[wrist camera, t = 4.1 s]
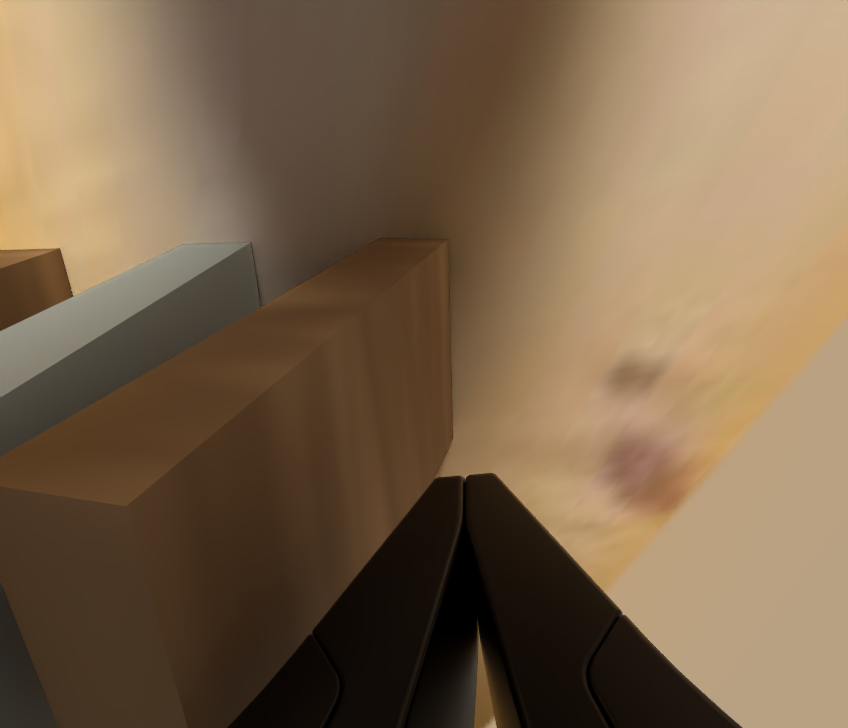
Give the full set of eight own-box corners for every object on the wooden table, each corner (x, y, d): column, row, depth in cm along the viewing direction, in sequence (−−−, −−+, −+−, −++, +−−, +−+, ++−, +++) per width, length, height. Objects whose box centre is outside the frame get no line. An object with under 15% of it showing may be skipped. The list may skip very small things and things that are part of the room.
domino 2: (448, 239, 13) (126, 506, 4) (453, 437, 15) (237, 902, 6) (379, 238, 14) (-41, 480, 5) (393, 431, 16) (110, 858, 7)
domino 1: (250, 241, 14) (-163, 498, 5) (279, 432, 16) (29, 882, 6) (183, 244, 14) (-355, 499, 5) (220, 433, 16) (-109, 877, 7)
